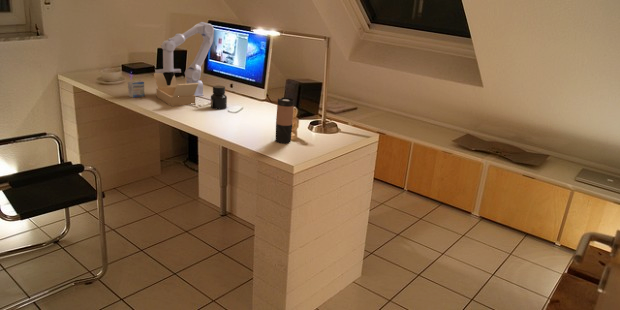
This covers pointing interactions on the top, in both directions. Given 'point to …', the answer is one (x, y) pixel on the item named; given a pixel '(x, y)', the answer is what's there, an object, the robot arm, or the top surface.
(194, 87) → the flap
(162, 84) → the flap
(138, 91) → the medicine box
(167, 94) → the carton
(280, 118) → the travel mug
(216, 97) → the ink bottle
